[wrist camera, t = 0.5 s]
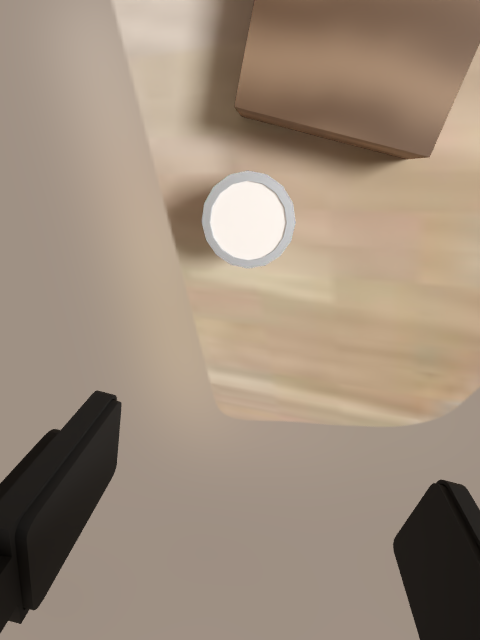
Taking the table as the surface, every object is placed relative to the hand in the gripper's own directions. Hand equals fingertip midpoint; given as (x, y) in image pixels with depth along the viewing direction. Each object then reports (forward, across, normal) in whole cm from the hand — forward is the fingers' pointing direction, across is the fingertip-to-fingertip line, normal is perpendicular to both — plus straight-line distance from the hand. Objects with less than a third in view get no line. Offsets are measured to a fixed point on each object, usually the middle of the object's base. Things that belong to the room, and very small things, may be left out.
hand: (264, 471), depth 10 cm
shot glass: (+24, +3, -4) cm, 25 cm away
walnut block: (+24, -1, -18) cm, 30 cm away
